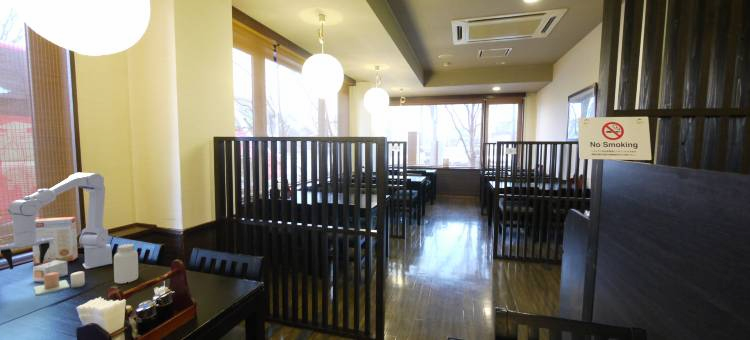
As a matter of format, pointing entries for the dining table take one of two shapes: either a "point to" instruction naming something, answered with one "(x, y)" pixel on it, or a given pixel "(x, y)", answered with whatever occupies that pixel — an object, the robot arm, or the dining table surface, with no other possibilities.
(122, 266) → the pill bottle
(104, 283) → the dining table surface
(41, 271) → the block
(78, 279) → the ivory peg
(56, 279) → the terracotta peg
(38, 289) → the pad
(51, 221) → the cracker box
